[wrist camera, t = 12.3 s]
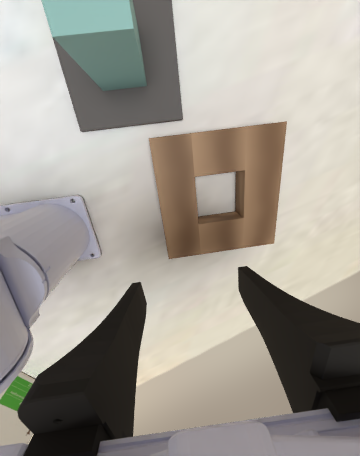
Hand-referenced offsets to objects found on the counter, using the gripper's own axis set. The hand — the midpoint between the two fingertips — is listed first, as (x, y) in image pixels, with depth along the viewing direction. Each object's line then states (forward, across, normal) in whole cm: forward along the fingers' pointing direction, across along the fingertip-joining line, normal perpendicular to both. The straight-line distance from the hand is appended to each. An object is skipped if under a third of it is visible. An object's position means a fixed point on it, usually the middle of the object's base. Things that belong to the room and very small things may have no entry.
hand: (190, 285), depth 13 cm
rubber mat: (+10, +3, -17) cm, 20 cm away
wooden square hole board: (+11, -4, -4) cm, 12 cm away
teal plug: (+10, +3, -17) cm, 20 cm away
